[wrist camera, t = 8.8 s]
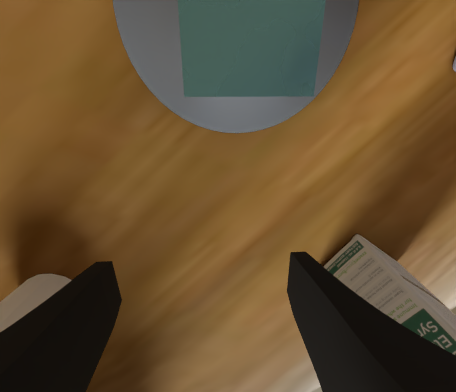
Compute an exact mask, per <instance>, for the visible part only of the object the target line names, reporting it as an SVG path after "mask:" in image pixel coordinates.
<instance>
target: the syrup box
mask: <svg viewBox="0 0 456 392" xmlns="http://www.w3.org/2000/svg"><path fill="white" fill-rule="evenodd" d="M323 267H324V268H325V269H326V270H328V271H329V272H330V273H331V274H332V275H334V276H335V277H336V278H337V279H338V280H340V281H341V282H342V283H343V284H345V285H346V286H347V287H348V288H350V289H351V290H352V291H354V292H355V293H356V294H358V295H359V296H360V297H362V298H363V299H364V300H366V301H367V302H369V303H370V304H371V305H373V306H374V307H376V308H377V309H378V310H380V311H381V312H383V313H384V314H386V315H388V316H389V317H391V318H392V319H394V320H395V321H397V322H398V323H400V324H402V325H403V326H405V327H406V328H408V329H410V330H411V331H413V332H415V333H416V334H418V335H420V336H421V337H423V338H425V339H427V340H429V341H430V342H432V343H434V344H436V345H437V346H439V347H441V348H443V349H445V350H446V351H448V352H450V353H452V354H454V355H456V315H455V314H454V313H453V312H451V311H450V310H449V309H448V308H447V307H446V306H445V305H444V304H443V303H442V302H441V301H440V300H439V299H438V298H437V297H435V296H434V295H433V294H432V293H431V292H430V291H429V290H428V289H427V288H426V287H424V286H423V285H422V284H421V283H420V282H419V281H418V280H417V279H416V278H415V277H414V276H412V275H411V274H410V273H409V272H408V271H407V270H406V269H405V268H404V267H403V266H402V265H401V264H399V263H398V262H397V261H396V260H394V259H393V258H391V257H390V256H389V255H387V254H386V253H384V252H383V251H382V250H380V249H379V248H377V247H376V246H375V245H373V244H372V243H371V242H369V241H368V240H366V239H365V238H364V237H362V236H361V235H358V234H356V235H355V236H354V237H353V238H352V240H351V241H350V242H349V243H348V244H347V245H346V246H345V247H343V248H342V249H341V250H340V251H339V252H338V253H337V254H336V255H335V256H334V257H333V258H332V259H331V260H330V261H329V262H328V263H327V264H326V265H324V266H323Z"/></svg>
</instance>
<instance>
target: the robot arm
mask: <svg viewBox="0 0 456 392" xmlns="http://www.w3.org/2000/svg"><path fill="white" fill-rule="evenodd" d="M453 70H454V71H455V72H456V57H455V60H454V63H453ZM287 293H288V297H289V301H290V305H291V308H292V312H293V315H294V318H295V321H296V323H297V326H298V328H299V331H300V333H301V336H302V339H303V341H304V344H305V346H306V349H307V351H308V354H309V356H310V359H311V361H312V364H313V366H314V369H315V371H316V374H317V377H318V380H319V382H320V385H321V388H322V391H323V392H456V355H454V354H452V353H450V352H448V351H446V350H445V349H443V348H441V347H439V346H437V345H436V344H434V343H432V342H430V341H429V340H427V339H425V338H423V337H421V336H420V335H418V334H416V333H415V332H413V331H411V330H410V329H408V328H406V327H405V326H403V325H402V324H400V323H398V322H397V321H395V320H394V319H392V318H391V317H389V316H388V315H386V314H384V313H383V312H381V311H380V310H378V309H377V308H376V307H374V306H373V305H371V304H370V303H369V302H367V301H366V300H364V299H363V298H362V297H360V296H359V295H358V294H356V293H355V292H354V291H352V290H351V289H350V288H348V287H347V286H346V285H345V284H343V283H342V282H341V281H340V280H338V279H337V278H336V277H335V276H334V275H332V274H331V273H330V272H329V271H328V270H326V269H325V268H324V267H323V266H322V265H321V264H319V263H318V262H317V261H316V260H315V259H314V258H312V257H311V256H310V255H309V254H308V253H306V252H291V254H290V265H289V275H288V286H287ZM121 301H122V299H121V295H120V291H119V287H118V283H117V279H116V275H115V271H114V268H113V264H112V261H107V262H96V263H94V264H93V265H91V266H90V267H89V268H87V269H86V270H85V271H83V272H82V273H81V274H79V275H78V276H77V277H76V278H74V279H73V280H72V281H70V282H69V283H68V284H67V285H65V286H64V287H63V288H61V289H60V290H59V291H57V292H56V293H55V294H53V295H52V296H51V297H50V298H48V299H47V300H46V301H44V302H43V303H41V304H40V305H39V306H37V307H36V308H34V309H33V310H32V311H30V312H29V313H27V314H26V315H25V316H23V317H22V318H20V319H19V320H18V321H16V322H15V323H13V324H12V325H11V326H9V327H8V328H6V329H5V330H3V331H2V332H0V392H86V390H87V387H88V385H89V383H90V380H91V378H92V376H93V374H94V371H95V369H96V367H97V364H98V362H99V360H100V358H101V355H102V353H103V351H104V349H105V346H106V344H107V342H108V339H109V337H110V335H111V332H112V330H113V327H114V325H115V322H116V318H117V315H118V312H119V308H120V305H121Z"/></svg>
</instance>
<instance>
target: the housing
mask: <svg viewBox="0 0 456 392" xmlns="http://www.w3.org/2000/svg"><path fill="white" fill-rule="evenodd" d="M325 2H326V0H178V12H179V27H180V42H181V57H182V72H183V87H184V97H306V96H314V90H315V82H316V74H317V66H318V58H319V50H320V42H321V34H322V26H323V18H324V10H325Z"/></svg>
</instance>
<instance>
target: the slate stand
mask: <svg viewBox="0 0 456 392" xmlns="http://www.w3.org/2000/svg"><path fill="white" fill-rule="evenodd" d="M358 3H359V0H326V2H325V10H324V18H323V26H322V34H321V42H320V50H319V58H318V66H317V74H316V82H315V90H314V96H306V97H184V87H183V72H182V57H181V42H180V27H179V12H178V0H113V6H114V11H115V16H116V21H117V26H118V29H119V32H120V35H121V39H122V42H123V45H124V47H125V49H126V52H127V54H128V56H129V58H130V61H131V62H132V64H133V66H134V68H135V69H136V71H137V73H138V74H139V76H140V78H141V79H142V80H143V82H144V83H145V84H146V86H147V87H148V88H149V90H150V91H151V92H152V93H153V94H154V95H155V96H156V97H157V98H158V99H159V100H160V101H161V102H162V103H163V104H164V105H165V106H166V107H168V108H169V109H170V110H171V111H172V112H174V113H176V114H177V115H179V116H180V117H182V118H183V119H185V120H187V121H189V122H191V123H193V124H195V125H197V126H200V127H203V128H206V129H209V130H214V131H219V132H226V133H245V132H253V131H258V130H262V129H266V128H269V127H271V126H274V125H277V124H279V123H281V122H283V121H285V120H287V119H289V118H290V117H292V116H293V115H295V114H296V113H298V112H299V111H301V110H302V109H303V108H304V107H305V106H307V105H308V104H309V103H310V102H311V101H312V100H313V99H314V98H315V97H316V96H317V95H318V94H319V93H320V92H321V91H322V89H323V88H324V87H325V85H326V84H327V83H328V81H329V80H330V79H331V77H332V76H333V74H334V72H335V71H336V69H337V67H338V66H339V64H340V62H341V60H342V58H343V56H344V53H345V51H346V49H347V47H348V44H349V41H350V38H351V35H352V32H353V29H354V24H355V20H356V15H357V11H358Z"/></svg>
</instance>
